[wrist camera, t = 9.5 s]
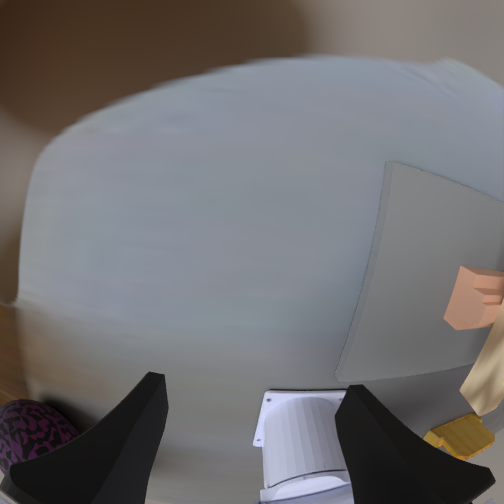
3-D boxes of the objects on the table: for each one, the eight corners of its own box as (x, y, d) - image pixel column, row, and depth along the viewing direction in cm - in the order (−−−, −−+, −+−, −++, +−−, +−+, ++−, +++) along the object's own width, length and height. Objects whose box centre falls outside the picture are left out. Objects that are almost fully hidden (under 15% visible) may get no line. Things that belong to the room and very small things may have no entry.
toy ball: (107, 420, 24) (66, 514, 10) (101, 459, 28) (76, 526, 13) (14, 358, 22) (-44, 426, 8) (27, 413, 26) (-10, 469, 11)
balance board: (473, 357, 22) (497, 382, 17) (334, 373, 22) (351, 418, 16) (520, 213, 18) (555, 224, 12) (385, 161, 17) (432, 161, 11)
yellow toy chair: (409, 454, 29) (426, 493, 20) (435, 420, 26) (460, 462, 17) (451, 437, 29) (470, 470, 20) (477, 402, 26) (502, 436, 17)
